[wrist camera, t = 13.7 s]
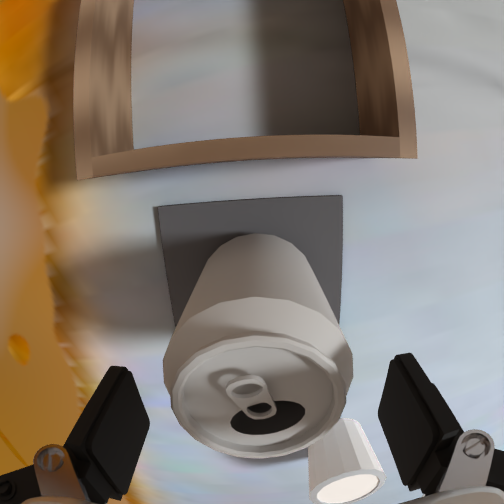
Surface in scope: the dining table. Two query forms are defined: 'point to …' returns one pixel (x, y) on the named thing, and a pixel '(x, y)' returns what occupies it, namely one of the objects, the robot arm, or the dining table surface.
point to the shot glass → (343, 466)
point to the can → (257, 353)
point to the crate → (244, 148)
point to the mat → (248, 222)
